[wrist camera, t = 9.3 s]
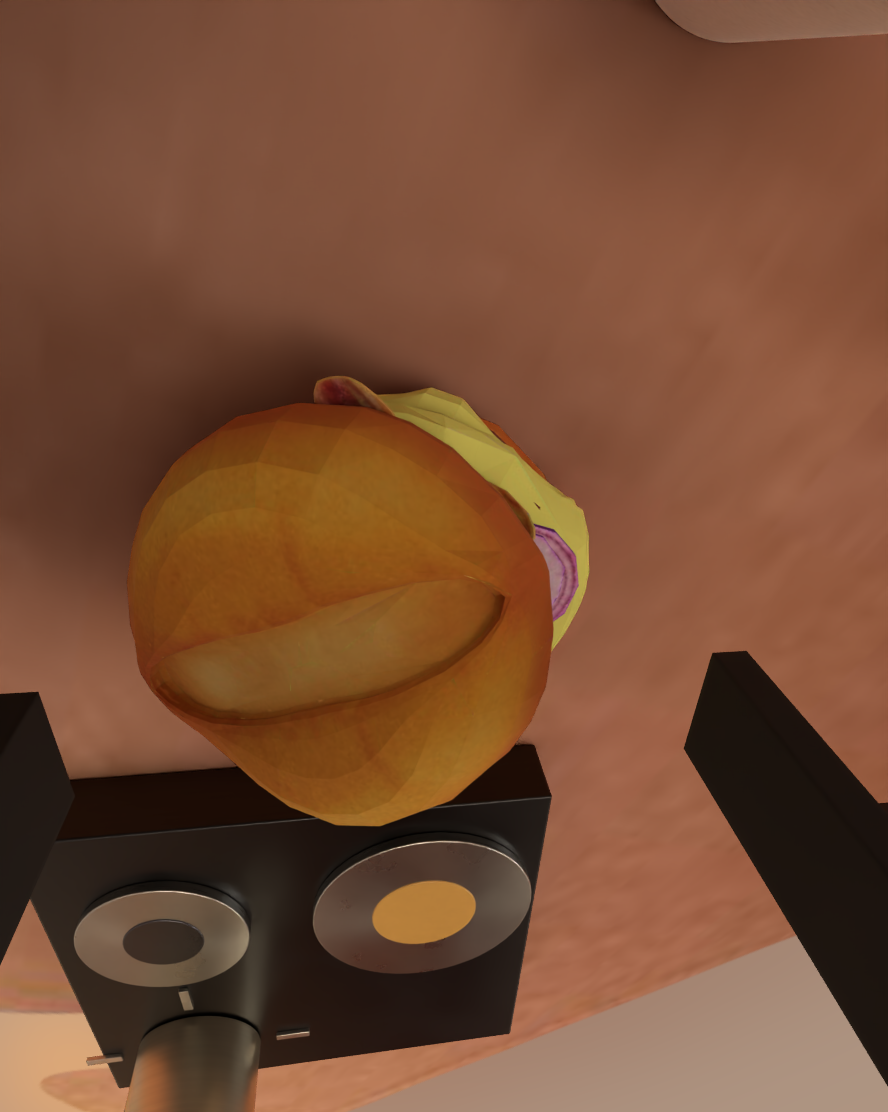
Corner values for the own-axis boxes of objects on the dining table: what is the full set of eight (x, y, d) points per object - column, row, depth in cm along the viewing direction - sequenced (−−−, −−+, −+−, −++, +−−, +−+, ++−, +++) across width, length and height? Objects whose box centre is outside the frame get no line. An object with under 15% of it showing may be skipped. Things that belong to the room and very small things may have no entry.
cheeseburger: (447, 716, 23) (415, 994, 14) (186, 554, 22) (-40, 754, 13) (635, 500, 20) (753, 689, 11) (340, 285, 18) (178, 290, 9)
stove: (16, 784, 23) (-20, 852, 20) (534, 743, 25) (554, 800, 23) (127, 1044, 32) (111, 1111, 30) (497, 996, 34) (508, 1054, 32)
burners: (48, 868, 21) (42, 881, 21) (540, 821, 24) (543, 832, 23) (105, 1001, 26) (102, 1013, 25) (518, 950, 28) (521, 961, 27)
